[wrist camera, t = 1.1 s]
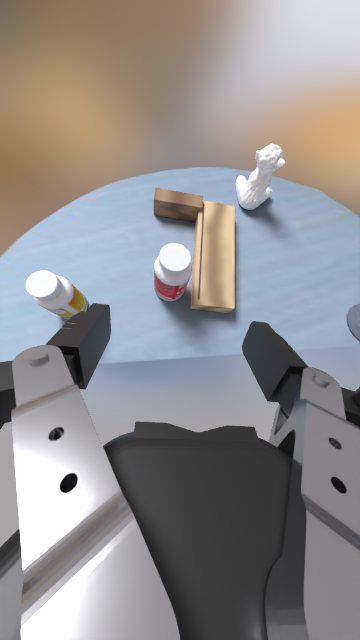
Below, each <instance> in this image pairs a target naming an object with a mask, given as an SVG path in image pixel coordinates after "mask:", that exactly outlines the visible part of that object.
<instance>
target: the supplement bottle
mask: <svg viewBox="0 0 360 640" xmlns="http://www.w3.org/2000/svg"><path fill="white" fill-rule="evenodd" d="M26 290H27V291H28V293H29V294H30V295H32V296H33V298H34V300H35V301H36V303H37V304H38V305H40V306H41V307H43V308H45V309H47V310H49V311H51V312H53V313H55V314H57V315H58V316H60V317H63V318H65V319H70V318H71V317H72V316H73V315H75V314H77V313H79V312H81V311H85V312H86V310H87V306H88V303H87V300H86V298H85V296H84V295H83V294H82V293H81V292H80V291H78V290H77V289H76V288H75V287H74V286H73V285H72V284H71V283H70V282H69V281H68V280H67V279H65V278H63V277H61V276H57V275H54V274H53V273H51V272H49V271H38V272H35V273H33V274H32V275H30V277H29V278H28V279H27V281H26Z"/></svg>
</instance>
